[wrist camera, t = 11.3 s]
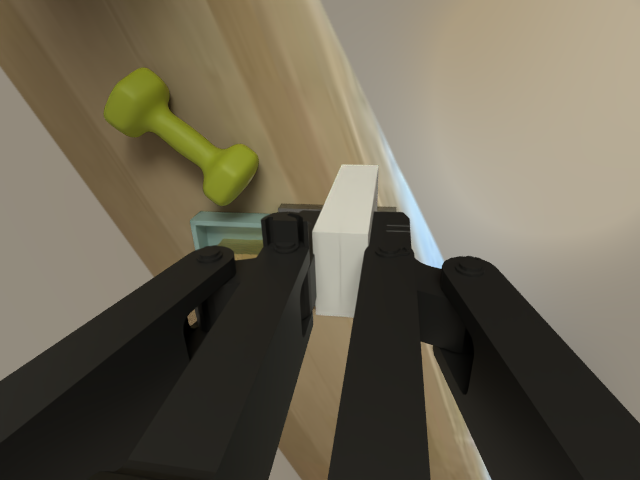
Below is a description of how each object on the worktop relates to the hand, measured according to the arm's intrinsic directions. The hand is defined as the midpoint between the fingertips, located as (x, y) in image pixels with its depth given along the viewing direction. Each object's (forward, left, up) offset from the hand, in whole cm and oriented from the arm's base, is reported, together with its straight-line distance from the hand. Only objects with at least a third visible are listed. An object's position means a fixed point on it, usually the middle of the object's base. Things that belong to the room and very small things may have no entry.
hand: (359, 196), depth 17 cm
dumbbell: (+4, -21, -30) cm, 37 cm away
